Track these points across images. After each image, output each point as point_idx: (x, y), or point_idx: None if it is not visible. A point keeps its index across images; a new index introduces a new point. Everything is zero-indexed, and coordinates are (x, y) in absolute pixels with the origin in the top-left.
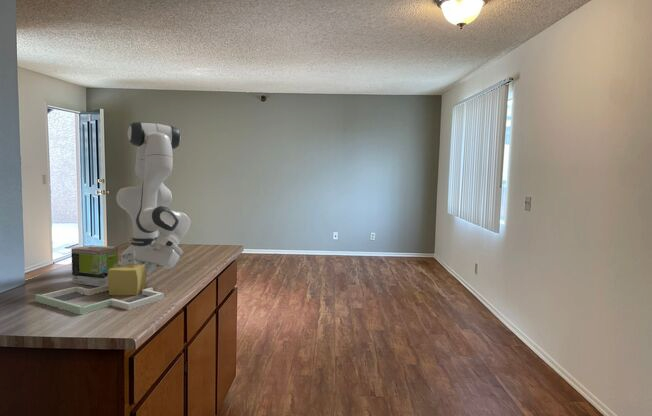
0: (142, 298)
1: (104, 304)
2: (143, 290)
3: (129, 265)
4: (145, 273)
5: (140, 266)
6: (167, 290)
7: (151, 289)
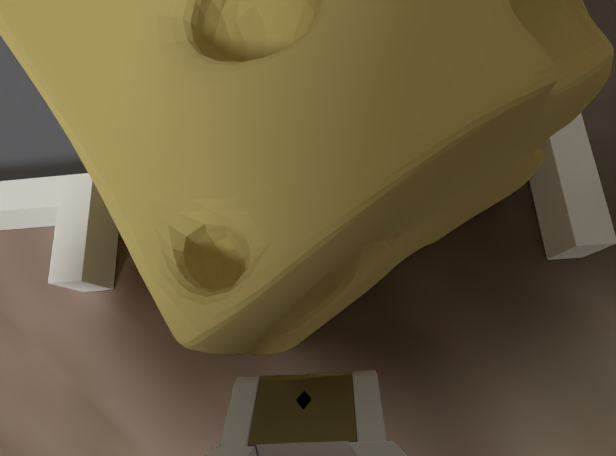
0: (29, 129)
1: None
2: (73, 174)
3: (385, 37)
4: (274, 381)
5: (91, 142)
6: (19, 439)
7: (58, 263)
